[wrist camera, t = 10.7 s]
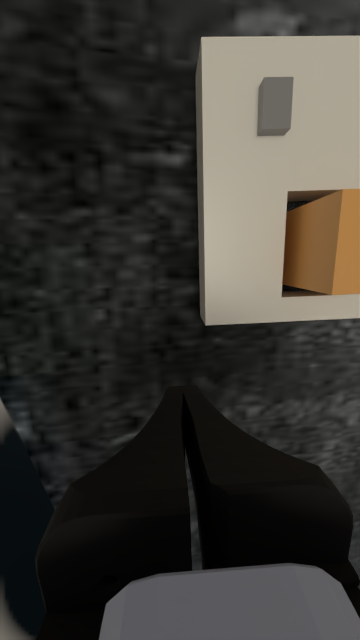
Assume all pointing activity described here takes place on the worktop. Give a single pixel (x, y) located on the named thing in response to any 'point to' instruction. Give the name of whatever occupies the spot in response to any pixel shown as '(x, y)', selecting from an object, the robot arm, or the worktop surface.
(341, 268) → the plug
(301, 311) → the socket
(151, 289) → the worktop surface
